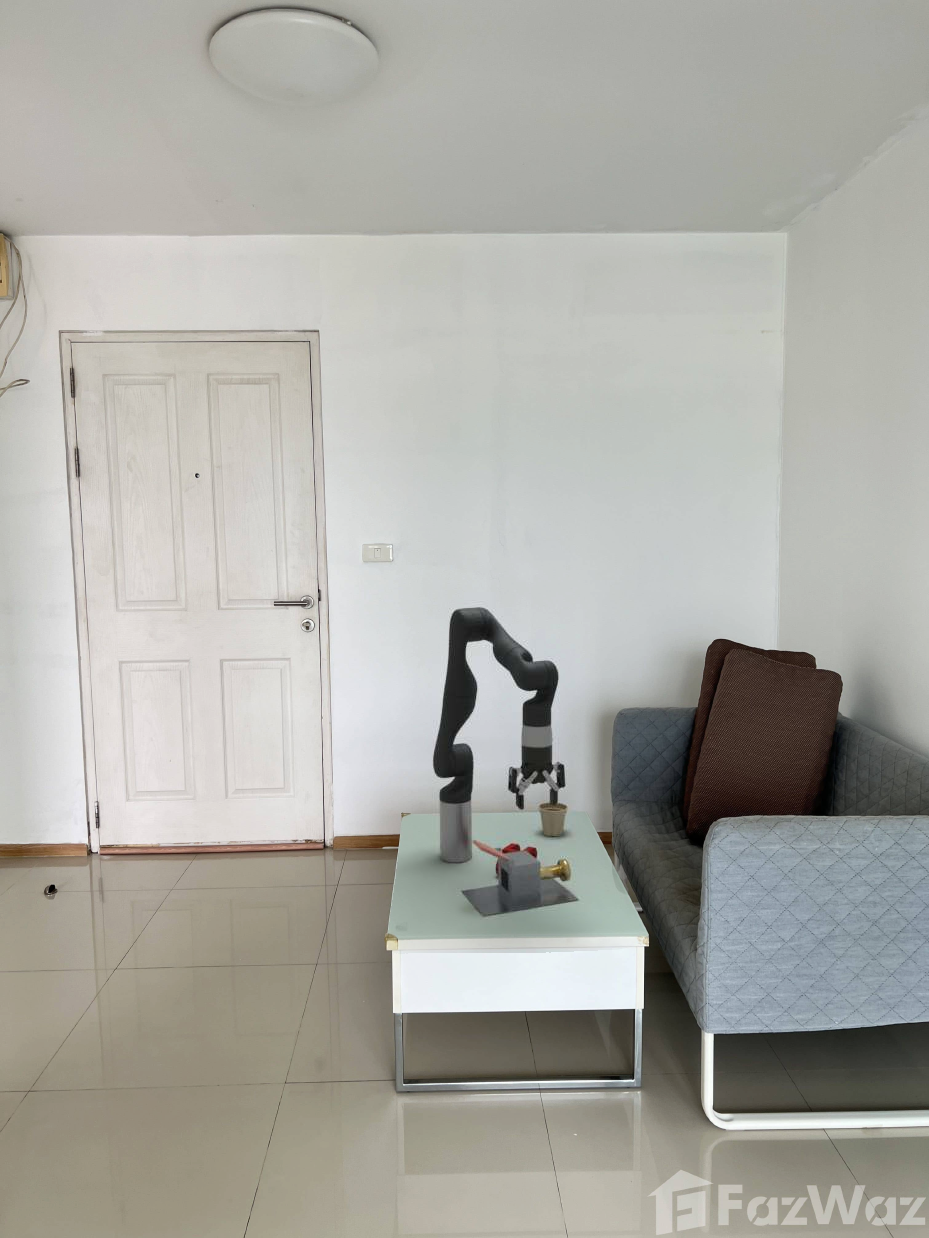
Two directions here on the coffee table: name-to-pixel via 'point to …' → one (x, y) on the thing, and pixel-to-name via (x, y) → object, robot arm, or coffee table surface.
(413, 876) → the coffee table surface
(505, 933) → the coffee table surface
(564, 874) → the brass pin
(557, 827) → the flower pot
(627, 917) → the coffee table surface
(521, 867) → the latch base plate
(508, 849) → the mechanical linkage
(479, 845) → the latch flap
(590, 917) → the coffee table surface
